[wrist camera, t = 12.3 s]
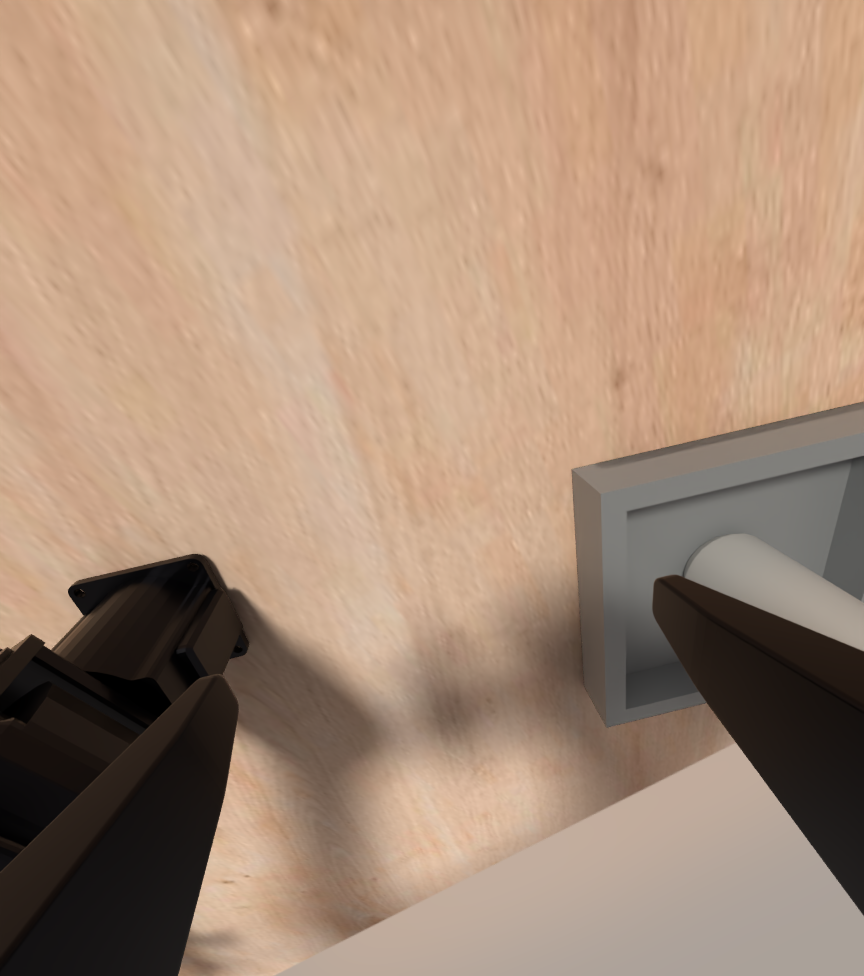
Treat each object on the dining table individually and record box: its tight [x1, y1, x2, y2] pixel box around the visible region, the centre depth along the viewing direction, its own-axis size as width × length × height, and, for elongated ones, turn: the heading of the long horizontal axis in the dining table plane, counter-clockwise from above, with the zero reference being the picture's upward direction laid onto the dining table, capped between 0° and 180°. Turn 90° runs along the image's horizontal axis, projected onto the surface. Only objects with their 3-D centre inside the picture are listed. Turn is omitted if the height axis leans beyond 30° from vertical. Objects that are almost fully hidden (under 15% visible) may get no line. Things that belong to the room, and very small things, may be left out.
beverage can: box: [684, 533, 864, 651], centre depth 18 cm, size 5×5×12 cm
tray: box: [572, 402, 864, 728], centre depth 23 cm, size 16×16×3 cm
